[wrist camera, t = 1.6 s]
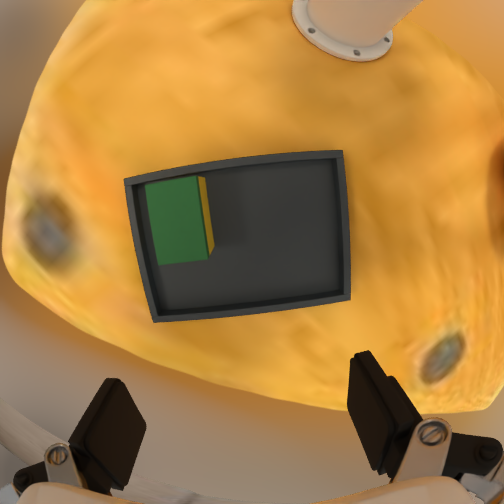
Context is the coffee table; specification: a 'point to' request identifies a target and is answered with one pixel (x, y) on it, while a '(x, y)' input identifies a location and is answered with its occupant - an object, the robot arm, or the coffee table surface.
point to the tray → (253, 238)
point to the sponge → (180, 220)
